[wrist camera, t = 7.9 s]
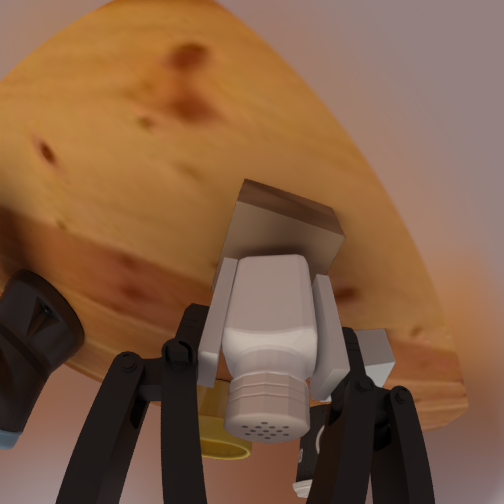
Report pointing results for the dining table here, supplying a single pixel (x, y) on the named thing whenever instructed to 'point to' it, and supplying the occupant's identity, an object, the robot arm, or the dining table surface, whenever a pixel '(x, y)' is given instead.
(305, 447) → the coffee cup
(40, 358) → the robot arm
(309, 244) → the walnut block
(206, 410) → the plant pot
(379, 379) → the grey-blue block
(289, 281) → the pepper shaker
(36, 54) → the dining table surface
